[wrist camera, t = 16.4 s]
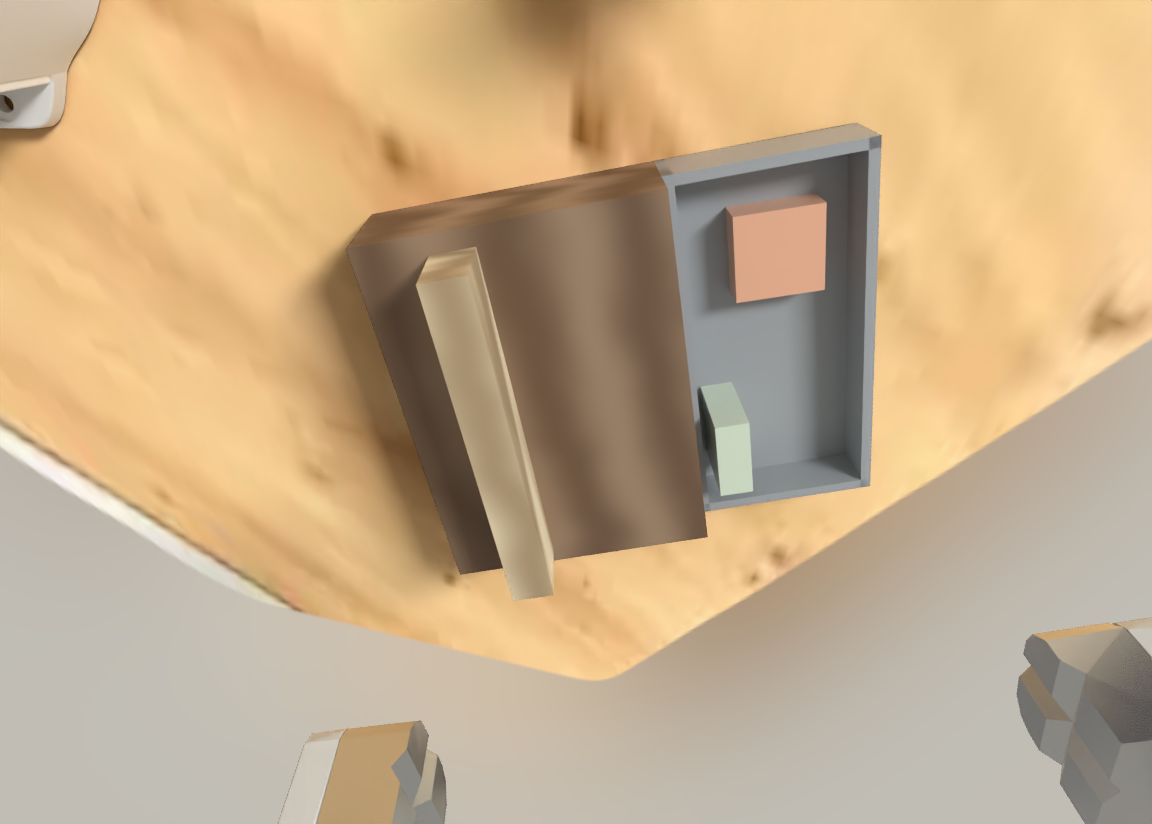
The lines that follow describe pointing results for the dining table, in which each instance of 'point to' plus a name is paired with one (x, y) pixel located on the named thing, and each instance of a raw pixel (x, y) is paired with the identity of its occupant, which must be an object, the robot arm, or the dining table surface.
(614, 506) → the walnut platform
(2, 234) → the dining table surface
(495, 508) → the bar
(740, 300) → the terracotta tile
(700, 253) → the box
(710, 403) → the sage tile
